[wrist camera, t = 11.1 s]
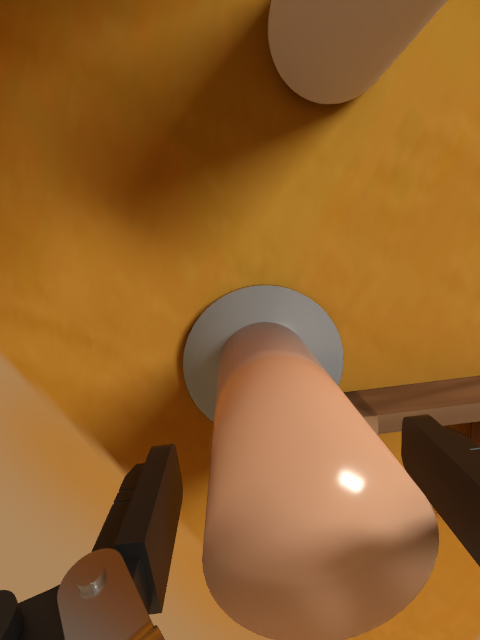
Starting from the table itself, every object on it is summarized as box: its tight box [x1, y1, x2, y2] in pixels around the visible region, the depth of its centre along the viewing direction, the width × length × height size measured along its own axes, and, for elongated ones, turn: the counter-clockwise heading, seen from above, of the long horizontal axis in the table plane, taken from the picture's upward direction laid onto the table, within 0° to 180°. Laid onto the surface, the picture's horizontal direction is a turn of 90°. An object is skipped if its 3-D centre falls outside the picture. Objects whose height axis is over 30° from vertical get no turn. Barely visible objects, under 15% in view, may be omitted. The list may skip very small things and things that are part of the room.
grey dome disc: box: [183, 285, 343, 422], centre depth 19 cm, size 10×10×1 cm
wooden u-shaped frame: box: [344, 376, 480, 447], centre depth 20 cm, size 9×10×3 cm
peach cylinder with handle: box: [202, 322, 439, 640], centre depth 13 cm, size 8×6×12 cm, turn 7°
